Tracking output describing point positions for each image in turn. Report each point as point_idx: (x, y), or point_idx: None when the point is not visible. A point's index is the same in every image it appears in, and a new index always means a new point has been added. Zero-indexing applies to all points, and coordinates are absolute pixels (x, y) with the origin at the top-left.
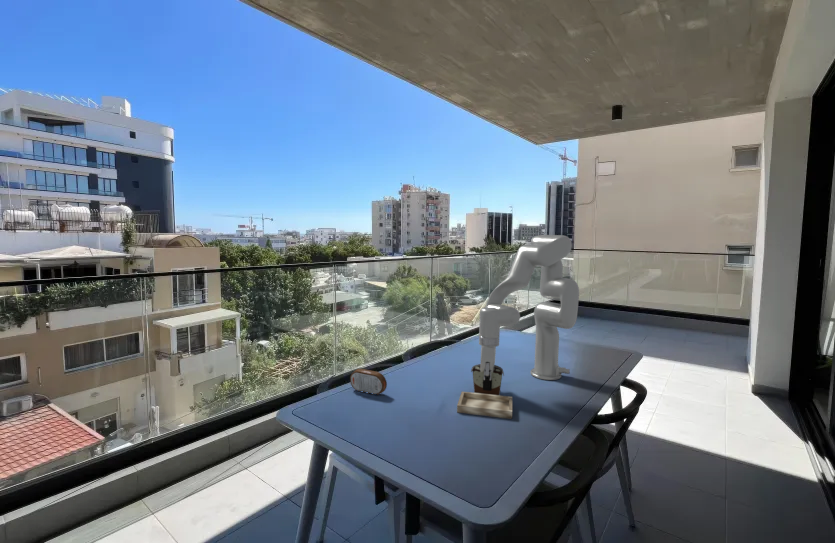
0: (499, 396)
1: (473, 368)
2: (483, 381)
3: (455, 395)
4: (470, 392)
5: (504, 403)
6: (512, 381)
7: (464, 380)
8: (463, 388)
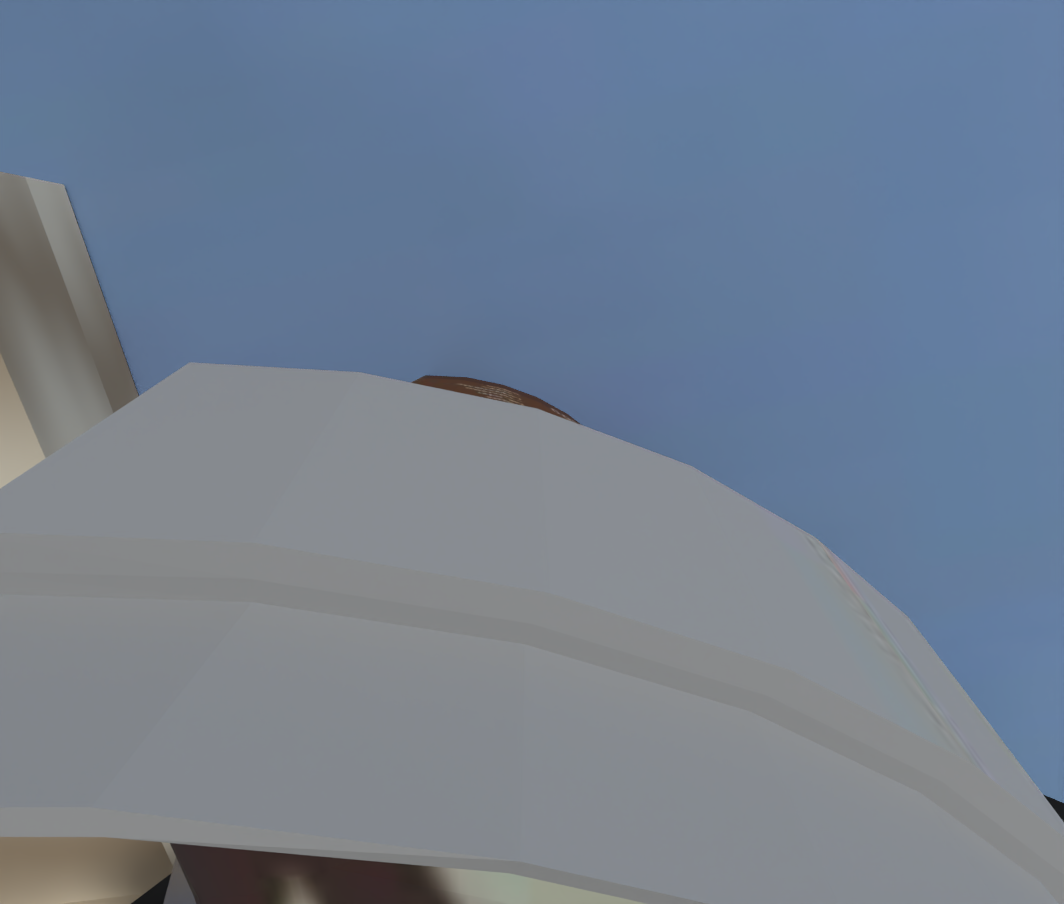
0: (172, 860)
1: (196, 675)
2: None
3: (117, 6)
4: (12, 389)
5: None
6: (1039, 781)
7: (1044, 15)
8: (573, 105)
